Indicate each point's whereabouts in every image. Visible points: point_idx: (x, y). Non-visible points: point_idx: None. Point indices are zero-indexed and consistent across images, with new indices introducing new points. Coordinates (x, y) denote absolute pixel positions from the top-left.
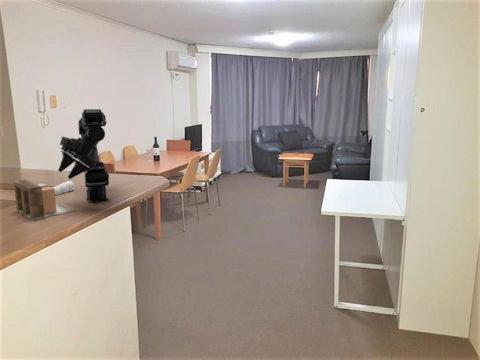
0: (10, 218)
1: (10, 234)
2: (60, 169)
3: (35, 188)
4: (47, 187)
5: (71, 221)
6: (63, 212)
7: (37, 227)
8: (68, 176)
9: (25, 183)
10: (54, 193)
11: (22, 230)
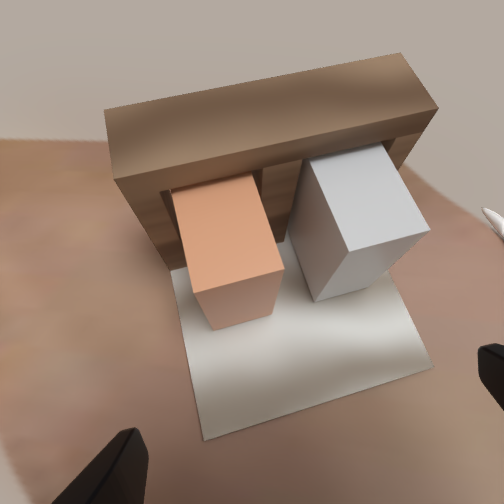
0: None
1: (35, 154)
2: (499, 373)
3: (111, 147)
4: (263, 250)
5: (21, 383)
6: (189, 365)
7: (47, 234)
8: (114, 437)
9: (288, 101)
10: (199, 301)
11: (51, 187)
